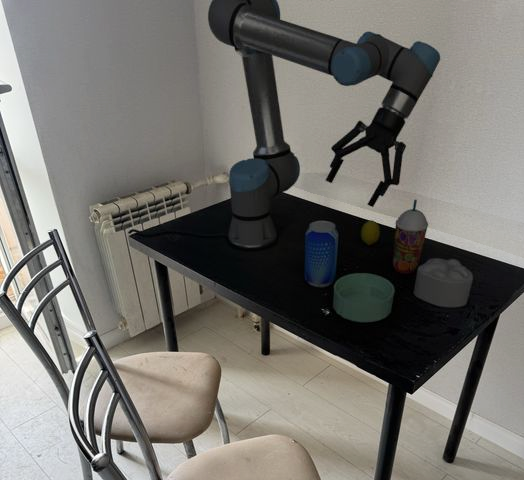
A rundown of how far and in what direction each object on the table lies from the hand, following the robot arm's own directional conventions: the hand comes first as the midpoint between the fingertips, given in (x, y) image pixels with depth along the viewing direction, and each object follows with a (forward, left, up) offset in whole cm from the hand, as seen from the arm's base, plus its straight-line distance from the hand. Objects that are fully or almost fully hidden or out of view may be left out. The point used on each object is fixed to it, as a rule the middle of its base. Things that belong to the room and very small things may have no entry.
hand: (348, 193), depth 131 cm
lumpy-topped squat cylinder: (+24, -17, -21) cm, 36 cm away
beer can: (-7, -9, -21) cm, 24 cm away
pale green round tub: (+3, -22, -21) cm, 30 cm away
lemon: (+9, +12, -21) cm, 26 cm away
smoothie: (+17, -3, -21) cm, 27 cm away
